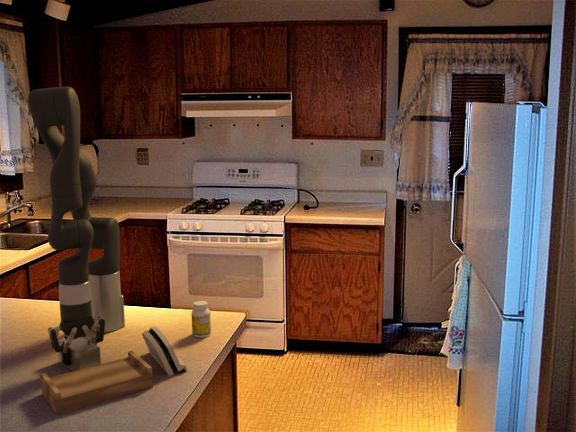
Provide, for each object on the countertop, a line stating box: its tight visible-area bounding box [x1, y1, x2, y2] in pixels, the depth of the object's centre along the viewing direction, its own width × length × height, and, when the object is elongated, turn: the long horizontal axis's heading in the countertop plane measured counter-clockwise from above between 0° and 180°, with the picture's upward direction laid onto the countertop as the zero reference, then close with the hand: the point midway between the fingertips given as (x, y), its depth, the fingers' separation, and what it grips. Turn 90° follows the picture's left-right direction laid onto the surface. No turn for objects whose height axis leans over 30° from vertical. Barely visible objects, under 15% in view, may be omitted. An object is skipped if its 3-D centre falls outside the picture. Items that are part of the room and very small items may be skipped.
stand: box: [40, 350, 154, 416], centre depth 143 cm, size 12×22×5 cm, turn 126°
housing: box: [57, 337, 102, 372], centre depth 156 cm, size 6×12×6 cm, turn 45°
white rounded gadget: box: [141, 326, 189, 377], centre depth 158 cm, size 17×5×10 cm, turn 29°
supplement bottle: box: [191, 300, 212, 339], centre depth 176 cm, size 5×5×10 cm
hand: (79, 361), depth 156 cm, fingers closed on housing, 6 cm apart
